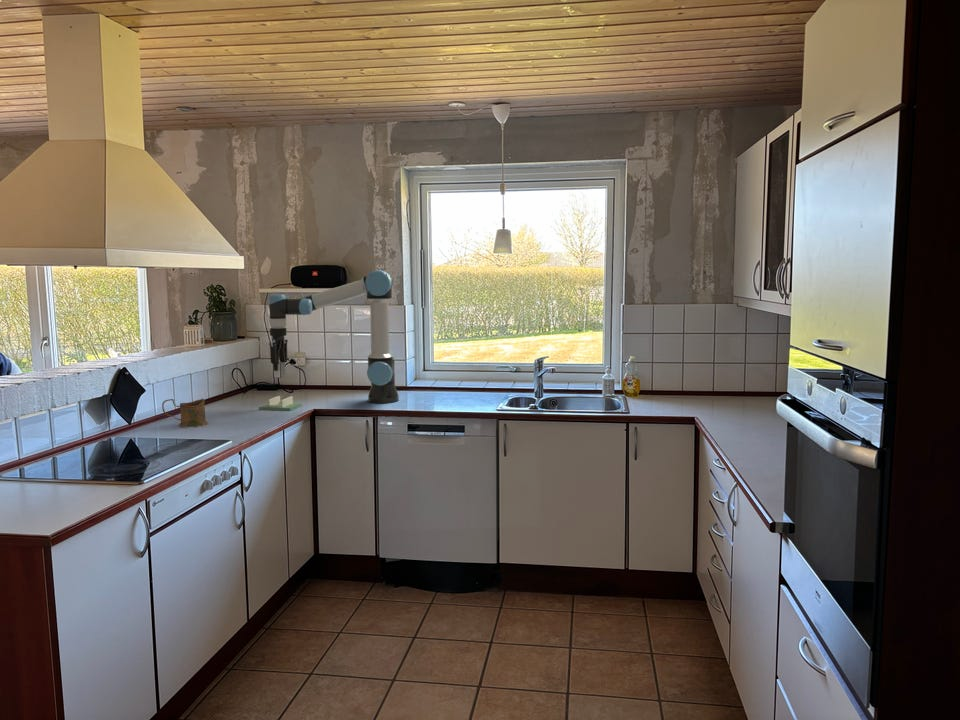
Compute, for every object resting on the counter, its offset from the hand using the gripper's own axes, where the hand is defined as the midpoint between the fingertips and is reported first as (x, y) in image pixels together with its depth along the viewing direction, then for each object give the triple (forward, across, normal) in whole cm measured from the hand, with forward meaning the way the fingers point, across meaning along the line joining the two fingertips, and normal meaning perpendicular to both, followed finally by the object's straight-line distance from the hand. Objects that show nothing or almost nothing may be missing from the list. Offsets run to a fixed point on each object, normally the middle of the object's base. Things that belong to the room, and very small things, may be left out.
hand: (279, 376), depth 337 cm
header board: (+15, 0, 0) cm, 15 cm away
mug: (+16, +43, -21) cm, 50 cm away
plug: (0, 0, 0) cm, 1 cm away
